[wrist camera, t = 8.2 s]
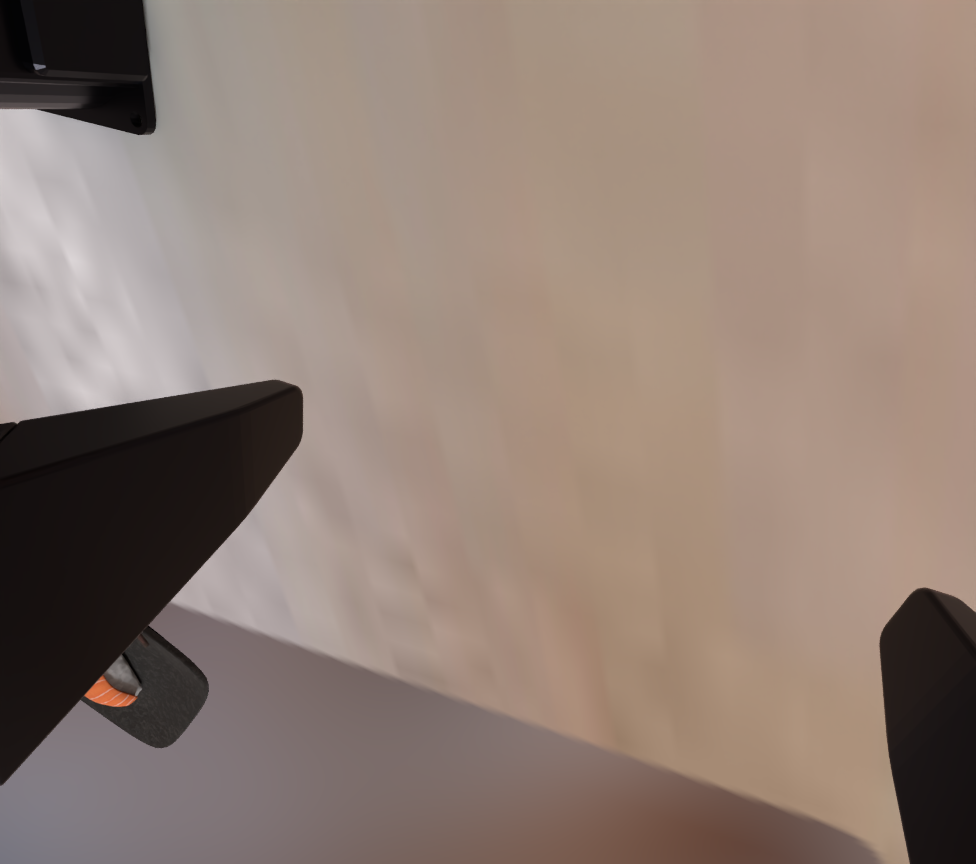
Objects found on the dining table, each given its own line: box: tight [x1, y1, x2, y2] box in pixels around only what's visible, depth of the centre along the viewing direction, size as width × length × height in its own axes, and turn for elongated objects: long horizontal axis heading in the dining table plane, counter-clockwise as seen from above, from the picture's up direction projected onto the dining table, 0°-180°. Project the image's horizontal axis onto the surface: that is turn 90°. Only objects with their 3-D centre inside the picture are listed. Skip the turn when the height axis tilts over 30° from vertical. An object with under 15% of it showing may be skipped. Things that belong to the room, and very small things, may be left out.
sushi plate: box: [81, 625, 209, 748], centre depth 36 cm, size 29×30×4 cm
